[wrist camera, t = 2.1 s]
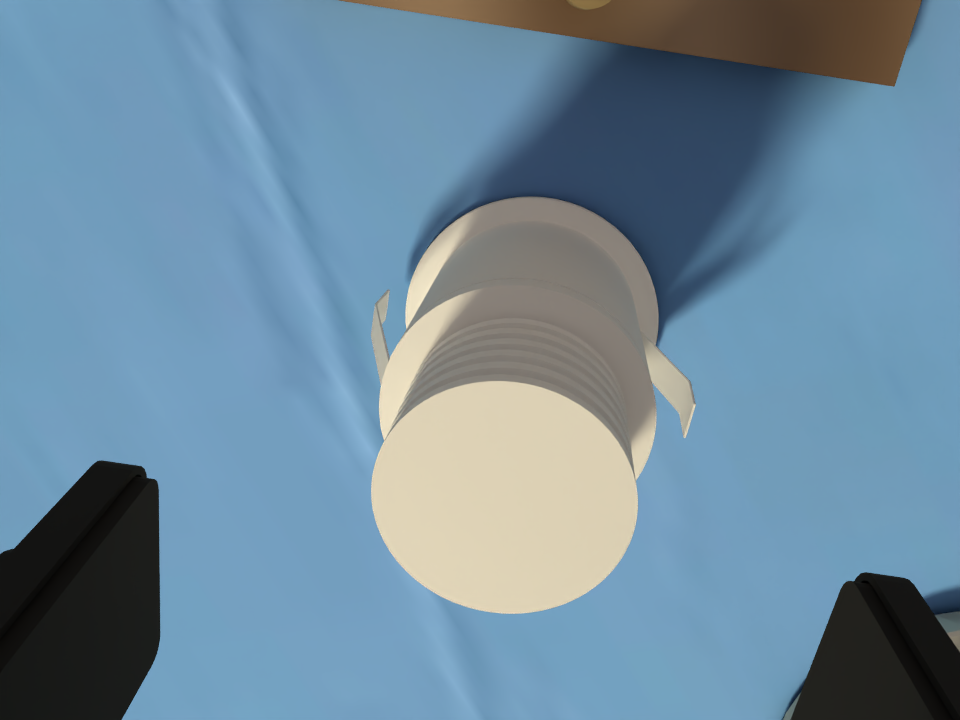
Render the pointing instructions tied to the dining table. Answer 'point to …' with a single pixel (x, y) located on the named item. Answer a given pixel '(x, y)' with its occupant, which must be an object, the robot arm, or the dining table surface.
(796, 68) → the pin board
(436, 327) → the downlight
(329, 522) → the dining table surface
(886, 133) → the dining table surface
